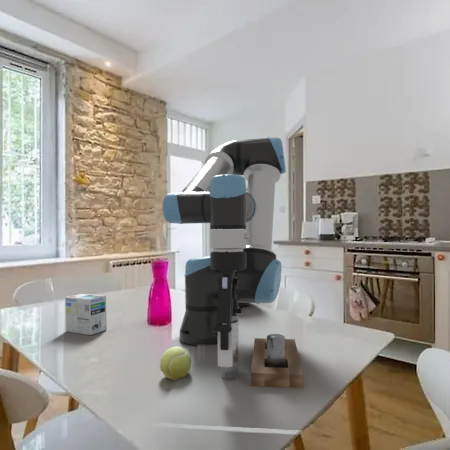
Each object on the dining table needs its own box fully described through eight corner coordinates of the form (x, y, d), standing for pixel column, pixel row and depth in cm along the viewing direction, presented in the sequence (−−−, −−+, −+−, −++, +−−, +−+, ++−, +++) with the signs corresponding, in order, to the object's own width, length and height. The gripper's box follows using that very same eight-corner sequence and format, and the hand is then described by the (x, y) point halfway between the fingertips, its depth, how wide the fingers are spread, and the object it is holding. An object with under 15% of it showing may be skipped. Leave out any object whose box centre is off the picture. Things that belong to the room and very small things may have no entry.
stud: (219, 382, 74) (219, 317, 74) (222, 374, 77) (221, 313, 77) (238, 383, 73) (237, 318, 73) (239, 375, 77) (238, 313, 77)
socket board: (250, 388, 71) (250, 372, 71) (254, 350, 92) (254, 338, 92) (303, 390, 69) (303, 374, 69) (294, 351, 91) (294, 339, 91)
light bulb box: (107, 330, 112) (107, 295, 112) (91, 336, 106) (90, 299, 106) (81, 326, 117) (81, 292, 117) (64, 332, 111) (64, 296, 111)
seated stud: (267, 378, 74) (266, 339, 74) (267, 371, 78) (267, 333, 78) (285, 379, 74) (284, 339, 74) (284, 372, 77) (284, 334, 77)
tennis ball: (194, 347, 75) (180, 338, 81) (165, 358, 72) (152, 348, 77) (198, 376, 76) (184, 366, 81) (169, 389, 72) (156, 377, 78)
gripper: (242, 253, 62) (243, 378, 62) (249, 247, 87) (250, 336, 87) (199, 253, 63) (199, 377, 63) (218, 247, 88) (219, 336, 88)
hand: (229, 354), depth 75 cm, fingers open, 13 cm apart
